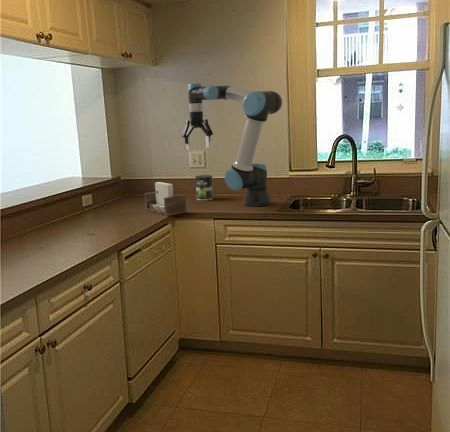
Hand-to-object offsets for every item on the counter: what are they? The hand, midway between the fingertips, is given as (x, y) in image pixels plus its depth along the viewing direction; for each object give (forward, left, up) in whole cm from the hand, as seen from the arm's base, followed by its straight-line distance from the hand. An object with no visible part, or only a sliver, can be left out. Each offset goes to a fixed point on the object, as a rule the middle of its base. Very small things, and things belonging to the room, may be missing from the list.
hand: (198, 148), depth 304 cm
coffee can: (+8, -8, -32) cm, 34 cm away
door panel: (-6, +28, -30) cm, 42 cm away
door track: (-6, +28, -32) cm, 43 cm away
